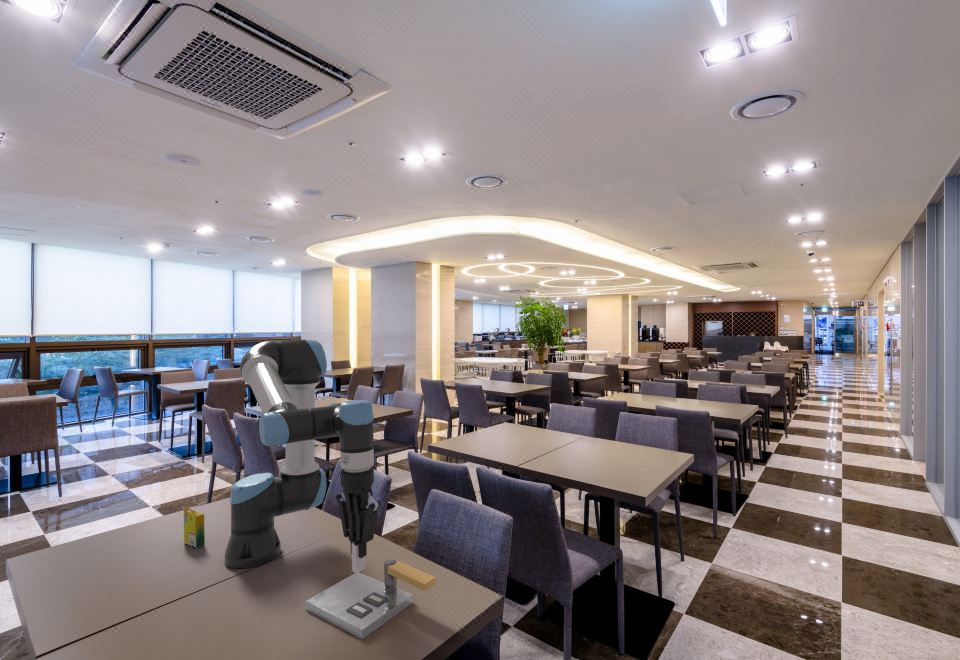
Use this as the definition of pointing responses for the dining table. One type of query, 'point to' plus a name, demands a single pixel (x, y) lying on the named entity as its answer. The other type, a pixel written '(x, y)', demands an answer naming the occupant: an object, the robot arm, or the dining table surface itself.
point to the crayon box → (194, 528)
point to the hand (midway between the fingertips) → (358, 569)
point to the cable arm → (409, 574)
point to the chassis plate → (349, 593)
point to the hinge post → (390, 583)
